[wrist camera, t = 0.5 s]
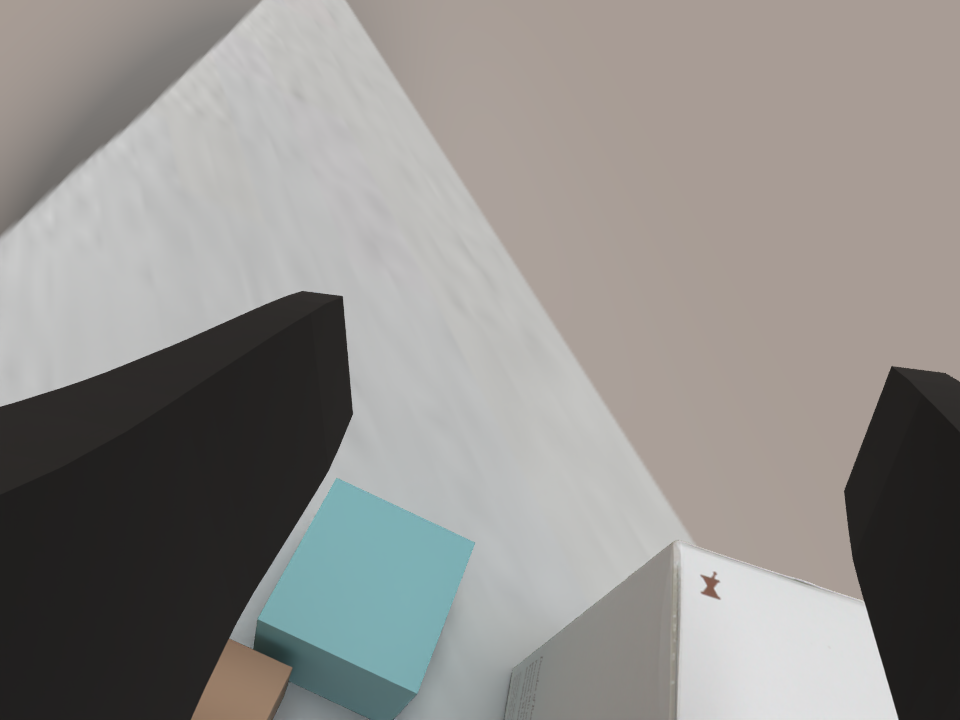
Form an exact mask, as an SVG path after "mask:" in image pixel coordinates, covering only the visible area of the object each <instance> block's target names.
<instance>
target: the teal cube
mask: <svg viewBox="0 0 960 720" xmlns="http://www.w3.org/2000/svg"><path fill="white" fill-rule="evenodd" d="M474 545H475V542H473V541H470V540H468V539H466V538H464V537H462V536H460V535H458V534H455V533H453V532H451V531H449V530H447V529H445V528H443V527H441V526H438V525H436V524H434V523H432V522H430V521H428V520H426V519H423V518H421V517H419V516H417V515H415V514H413V513H411V512H409V511H406V510H404V509H402V508H400V507H398V506H396V505H394V504H391V503H389V502H387V501H385V500H383V499H381V498H379V497H377V496H374V495H372V494H370V493H368V492H366V491H364V490H362V489H360V488H357V487H355V486H353V485H351V484H349V483H347V482H345V481H342V480H340V479H338V478H336V480H335V482H334V483H333V485H332V487H331V489H330V491H329V492H328V494H327V496H326V498H325V500H324V501H323V503H322V505H321V507H320V508H319V510H318V512H317V514H316V516H315V517H314V519H313V521H312V523H311V525H310V526H309V528H308V530H307V532H306V533H305V535H304V537H303V539H302V541H301V542H300V544H299V546H298V548H297V550H296V551H295V553H294V555H293V557H292V558H291V560H290V562H289V564H288V566H287V567H286V569H285V571H284V573H283V575H282V576H281V578H280V580H279V582H278V583H277V585H276V587H275V589H274V591H273V592H272V594H271V596H270V598H269V600H268V601H267V603H266V605H265V607H264V608H263V610H262V612H261V614H260V616H259V617H258V620H257V627H256V634H255V641H254V648H253V650H255V651H257V652H260V653H262V654H264V655H266V656H268V657H271V658H273V659H275V660H277V661H279V662H281V663H284V664H286V665H288V666H290V667H292V672H291V675H290V678H289V681H290V682H292V683H294V684H296V685H298V686H300V687H302V688H305V689H307V690H309V691H311V692H313V693H315V694H317V695H320V696H322V697H324V698H326V699H328V700H330V701H332V702H335V703H337V704H339V705H341V706H343V707H345V708H347V709H350V710H352V711H354V712H356V713H358V714H360V715H362V716H365V717H367V718H369V719H371V720H393V719H394V718H395V717H396V716H397V715H398V714H399V713H400V712H401V711H402V710H403V709H404V707H405V706H406V705H407V704H408V703H409V702H410V701H411V700H412V699H413V698H414V697H415V696H416V695H417V693H418V690H419V688H420V685H421V683H422V680H423V677H424V675H425V672H426V670H427V667H428V664H429V662H430V659H431V657H432V654H433V651H434V649H435V646H436V644H437V641H438V638H439V636H440V633H441V631H442V628H443V625H444V623H445V620H446V618H447V615H448V612H449V610H450V607H451V605H452V602H453V599H454V597H455V594H456V592H457V589H458V586H459V584H460V581H461V579H462V576H463V573H464V571H465V568H466V566H467V563H468V560H469V558H470V555H471V553H472V550H473V547H474Z"/></svg>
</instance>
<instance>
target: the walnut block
mask: <svg viewBox="0 0 960 720" xmlns="http://www.w3.org/2000/svg"><path fill="white" fill-rule="evenodd" d="M291 672H292V667H290V666H288V665H286V664H284V663H281V662H279V661H277V660H275V659H273V658H271V657H268V656H266V655H264V654H262V653H260V652H257V651H255V650H253V649H251V648H249V647H246V646H244V645H242V644H240V643H238V642H235V641H233V640H231V639H228V642H227V644H226V646H225V648H224V650H223V652H222V654H221V656H220V658H219V660H218V662H217V664H216V666H215V669H214V671H213V673H212V675H211V677H210V679H209V681H208V683H207V685H206V687H205V689H204V692H203V694H202V696H201V698H200V700H199V703H198V705H197V707H196V709H195V712H194V714H193V716H192V718H191V720H272V719H273V717H274V715H275V713H276V711H277V709H278V707H279V705H280V703H281V701H282V699H283V697H284V694H285V691H286V688H287V685H288V681H289V678H290V675H291Z"/></svg>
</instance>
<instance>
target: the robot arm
mask: <svg viewBox="0 0 960 720" xmlns="http://www.w3.org/2000/svg"><path fill="white" fill-rule="evenodd" d="M352 415H353V410H352V398H351V387H350V375H349V364H348V352H347V341H346V329H345V318H344V306H343V296H337V295H329V294H321V293H313V292H306V291H301V292H298V293H295V294H291V295H288V296H286V297H283V298H280V299H278V300H275V301H273V302H270V303H268V304H266V305H263V306H261V307H259V308H256V309H254V310H252V311H249V312H247V313H245V314H243V315H240V316H238V317H236V318H234V319H232V320H229V321H227V322H225V323H223V324H220V325H218V326H216V327H214V328H211V329H209V330H207V331H205V332H202V333H200V334H198V335H196V336H193V337H191V338H189V339H187V340H184V341H182V342H180V343H177V344H175V345H173V346H170V347H168V348H165V349H163V350H160V351H158V352H155V353H153V354H150V355H148V356H145V357H143V358H140V359H138V360H135V361H133V362H131V363H128V364H126V365H123V366H121V367H118V368H116V369H113V370H111V371H108V372H106V373H103V374H100V375H97V376H95V377H92V378H89V379H86V380H84V381H81V382H78V383H75V384H72V385H69V386H66V387H63V388H60V389H57V390H54V391H51V392H47V393H44V394H41V395H38V396H35V397H32V398H28V399H25V400H22V401H19V402H15V403H12V404H8V405H5V406H2V407H0V720H191V718H192V716H193V714H194V712H195V709H196V707H197V705H198V703H199V700H200V698H201V696H202V694H203V692H204V689H205V687H206V685H207V683H208V681H209V679H210V677H211V675H212V673H213V671H214V669H215V666H216V664H217V662H218V660H219V658H220V656H221V654H222V652H223V650H224V648H225V646H226V644H227V642H228V639H229V637H230V635H231V633H232V631H233V629H234V627H235V625H236V623H237V621H238V619H239V618H240V616H241V614H242V612H243V611H244V609H245V607H246V605H247V603H248V602H249V600H250V598H251V596H252V595H253V593H254V591H255V590H256V588H257V586H258V585H259V583H260V582H261V580H262V578H263V577H264V575H265V574H266V572H267V570H268V569H269V567H270V566H271V564H272V562H273V561H274V559H275V557H276V556H277V554H278V553H279V551H280V549H281V548H282V546H283V545H284V543H285V541H286V540H287V538H288V537H289V535H290V533H291V532H292V530H293V528H294V527H295V525H296V524H297V522H298V520H299V519H300V517H301V516H302V514H303V512H304V511H305V509H306V507H307V506H308V504H309V502H310V501H311V499H312V498H313V496H314V494H315V493H316V491H317V489H318V488H319V486H320V484H321V483H322V481H323V479H324V478H325V476H326V474H327V472H328V471H329V469H330V466H331V464H332V462H333V460H334V458H335V455H336V453H337V451H338V449H339V447H340V444H341V442H342V439H343V437H344V434H345V432H346V430H347V427H348V425H349V422H350V420H351V417H352ZM844 493H845V503H846V512H847V521H848V529H849V536H850V543H851V550H852V557H853V562H854V566H855V570H856V573H857V577H858V581H859V584H860V588H861V591H862V595H863V599H864V602H865V606H866V609H867V613H868V616H869V620H870V623H871V627H872V630H873V634H874V637H875V640H876V644H877V647H878V651H879V654H880V658H881V661H882V665H883V668H884V671H885V675H886V678H887V682H888V685H889V689H890V692H891V695H892V699H893V702H894V706H895V709H896V713H897V716H898V720H960V382H959V381H958V380H956V379H954V378H953V377H950V376H949V375H947V374H946V373H940V372H932V371H924V370H917V369H909V368H901V367H893V366H892V367H891V369H890V372H889V374H888V377H887V380H886V382H885V385H884V388H883V391H882V393H881V395H880V398H879V401H878V403H877V406H876V409H875V412H874V414H873V417H872V419H871V422H870V424H869V427H868V430H867V433H866V435H865V438H864V440H863V443H862V445H861V448H860V451H859V453H858V456H857V459H856V461H855V464H854V466H853V469H852V472H851V474H850V477H849V480H848V482H847V485H846V488H845V490H844Z"/></svg>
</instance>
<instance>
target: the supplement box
mask: <svg viewBox="0 0 960 720" xmlns="http://www.w3.org/2000/svg"><path fill="white" fill-rule="evenodd" d="M504 720H898V716H897V713H896V709H895V706H894V702H893V699H892V695H891V692H890V689H889V685H888V682H887V678H886V675H885V671H884V668H883V665H882V661H881V658H880V654H879V651H878V647H877V644H876V640H875V637H874V634H873V630H872V627H871V623H870V620H869V616H868V613H867V609H866V606H865V602H864V601H861V600H859V599H856V598H852V597H849V596H846V595H843V594H840V593H837V592H834V591H831V590H828V589H825V588H822V587H819V586H817V585H814V584H812V583H809V582H806V581H803V580H800V579H797V578H793V577H789V576H785V575H782V574H779V573H776V572H773V571H770V570H767V569H764V568H761V567H757V566H755V565H752V564H749V563H745V562H742V561H739V560H736V559H733V558H730V557H727V556H725V555H722V554H718V553H715V552H712V551H709V550H706V549H703V548H700V547H697V546H695V545H692V544H690V543H687V542H684V541H681V540H676V541H674V542H672V543H671V544H670V545H669V546H667V547H666V548H665V549H663V550H662V551H661V552H659V553H658V554H657V555H656V556H654V557H653V558H652V559H651V560H649V561H648V562H647V563H646V564H645V565H643V566H642V567H641V568H639V569H638V570H637V571H635V572H634V573H633V574H632V575H630V576H629V577H628V578H627V579H626V580H625V581H623V582H622V583H621V584H619V585H618V586H617V587H615V588H614V589H613V590H612V591H610V592H609V593H608V594H607V595H605V596H604V597H603V598H602V599H600V600H599V601H598V602H597V603H595V604H594V605H593V606H591V607H590V608H589V609H588V610H586V611H585V612H584V613H583V614H581V615H580V616H579V617H577V618H576V619H575V620H574V621H572V622H571V623H570V624H569V625H567V626H566V627H565V628H564V629H563V630H561V631H560V632H559V633H558V634H556V635H555V636H554V637H552V638H551V639H550V640H549V641H547V642H546V643H545V644H544V645H542V646H541V647H540V648H539V649H537V650H536V651H535V652H533V653H532V654H531V655H530V656H528V657H527V658H526V659H525V660H523V661H522V662H521V663H520V664H518V665H517V666H516V667H514V668H513V671H512V677H511V682H510V689H509V694H508V700H507V705H506V712H505V718H504Z"/></svg>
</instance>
